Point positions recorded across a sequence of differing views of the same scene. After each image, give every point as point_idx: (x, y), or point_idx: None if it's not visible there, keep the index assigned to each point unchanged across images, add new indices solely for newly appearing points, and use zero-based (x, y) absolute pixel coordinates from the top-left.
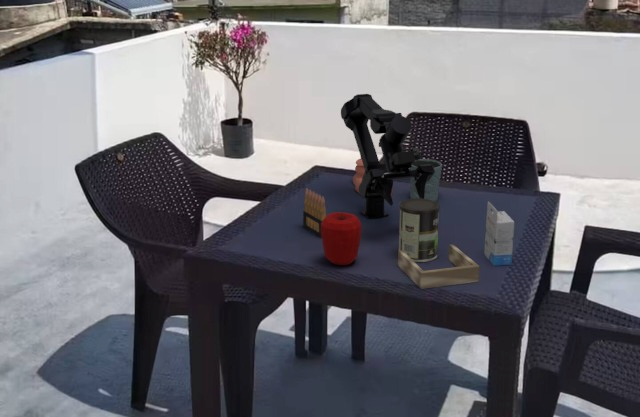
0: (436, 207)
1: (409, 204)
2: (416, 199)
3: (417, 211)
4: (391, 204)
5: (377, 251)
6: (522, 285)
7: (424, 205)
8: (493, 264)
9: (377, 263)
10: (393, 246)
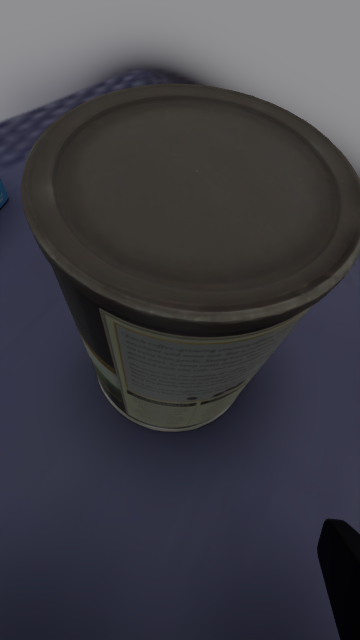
0: (120, 95)
1: (277, 209)
2: (149, 283)
3: (272, 110)
4: (339, 523)
5: (314, 457)
6: (43, 115)
7: (171, 152)
8: (7, 195)
9: (342, 346)
10: (225, 486)
